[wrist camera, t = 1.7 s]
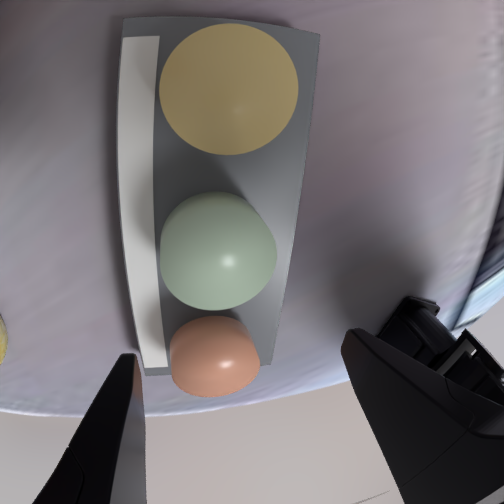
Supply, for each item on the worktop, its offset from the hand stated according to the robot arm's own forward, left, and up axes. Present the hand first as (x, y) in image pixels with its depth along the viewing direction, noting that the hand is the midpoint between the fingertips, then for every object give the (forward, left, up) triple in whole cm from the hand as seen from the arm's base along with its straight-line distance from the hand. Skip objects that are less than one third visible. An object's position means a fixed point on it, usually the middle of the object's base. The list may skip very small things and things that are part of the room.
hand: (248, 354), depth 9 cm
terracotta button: (-2, +7, -7) cm, 10 cm away
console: (0, 0, -10) cm, 10 cm away
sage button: (0, 0, -7) cm, 7 cm away
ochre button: (+2, -7, -7) cm, 10 cm away
